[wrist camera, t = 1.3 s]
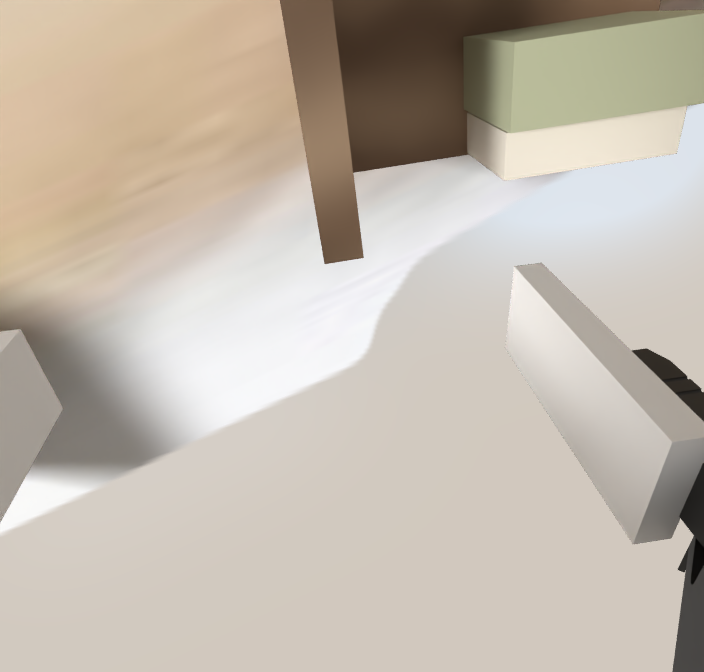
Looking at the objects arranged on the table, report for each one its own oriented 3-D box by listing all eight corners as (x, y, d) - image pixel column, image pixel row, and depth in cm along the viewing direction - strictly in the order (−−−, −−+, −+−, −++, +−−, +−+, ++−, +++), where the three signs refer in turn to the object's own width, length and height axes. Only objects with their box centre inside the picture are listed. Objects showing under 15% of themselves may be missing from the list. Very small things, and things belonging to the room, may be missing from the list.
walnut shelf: (263, -115, 31) (217, -365, 11) (570, -159, 31) (1075, -478, 11) (305, 137, 39) (324, 264, 19) (548, 100, 40) (819, 184, 19)
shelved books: (463, 36, 26) (514, 42, 20) (631, 11, 26) (730, 9, 20) (463, 153, 29) (507, 187, 23) (613, 129, 29) (694, 157, 24)
